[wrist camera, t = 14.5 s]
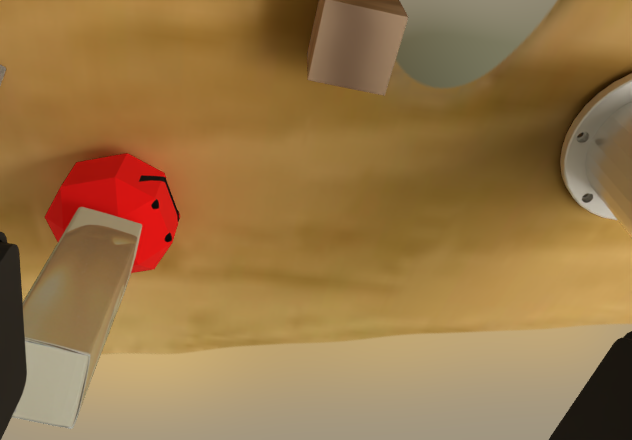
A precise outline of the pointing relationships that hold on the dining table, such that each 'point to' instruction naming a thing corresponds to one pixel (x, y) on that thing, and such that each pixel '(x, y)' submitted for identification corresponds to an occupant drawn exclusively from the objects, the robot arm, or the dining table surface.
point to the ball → (120, 202)
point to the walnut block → (355, 43)
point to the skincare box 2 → (74, 313)
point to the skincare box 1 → (2, 72)
